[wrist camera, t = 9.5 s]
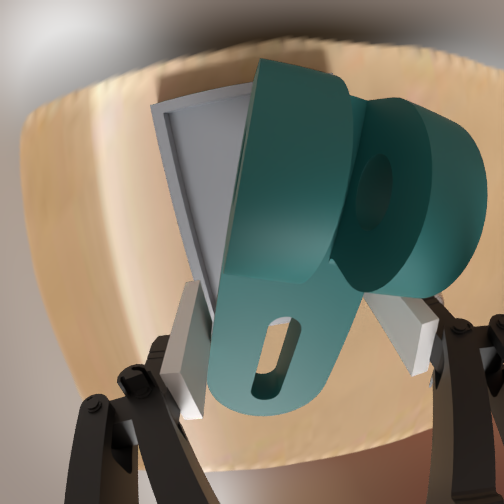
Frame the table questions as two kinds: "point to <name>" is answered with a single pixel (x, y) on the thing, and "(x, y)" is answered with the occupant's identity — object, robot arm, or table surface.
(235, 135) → the bin
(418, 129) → the bracket
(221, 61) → the table surface
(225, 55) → the table surface
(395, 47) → the table surface
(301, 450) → the table surface
